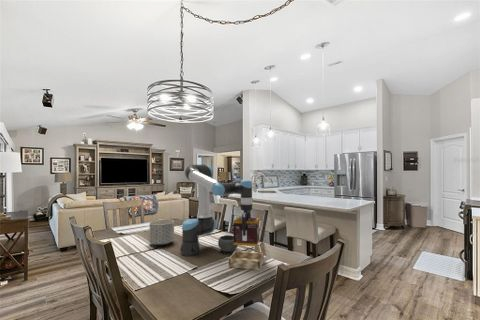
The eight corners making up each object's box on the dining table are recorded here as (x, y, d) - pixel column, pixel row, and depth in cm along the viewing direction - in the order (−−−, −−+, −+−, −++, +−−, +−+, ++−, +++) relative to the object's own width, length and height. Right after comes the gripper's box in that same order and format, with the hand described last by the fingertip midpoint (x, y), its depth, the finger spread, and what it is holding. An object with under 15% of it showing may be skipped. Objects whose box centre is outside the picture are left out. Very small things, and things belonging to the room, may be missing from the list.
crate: (228, 266, 153) (228, 258, 153) (235, 258, 167) (235, 250, 167) (259, 270, 148) (259, 261, 148) (263, 260, 162) (263, 253, 162)
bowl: (241, 249, 185) (241, 235, 186) (232, 255, 172) (232, 241, 172) (224, 246, 192) (224, 233, 192) (214, 252, 178) (214, 238, 178)
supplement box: (257, 246, 151) (257, 221, 152) (233, 245, 154) (233, 220, 155) (259, 241, 161) (259, 217, 162) (236, 240, 164) (236, 216, 165)
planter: (144, 246, 192) (144, 223, 193) (160, 239, 210) (160, 218, 210) (163, 249, 185) (163, 225, 186) (178, 242, 203) (178, 220, 203)
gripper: (248, 206, 146) (248, 243, 146) (255, 201, 169) (255, 233, 168) (236, 206, 148) (236, 242, 148) (245, 201, 171) (245, 232, 170)
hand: (246, 238), depth 158 cm, fingers closed on supplement box, 10 cm apart
